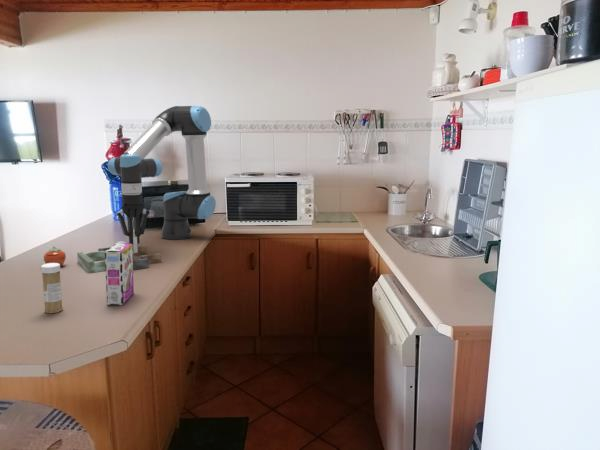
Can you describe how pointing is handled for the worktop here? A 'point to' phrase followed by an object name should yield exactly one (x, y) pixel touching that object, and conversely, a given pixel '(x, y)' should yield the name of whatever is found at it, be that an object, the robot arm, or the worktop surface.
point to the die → (121, 242)
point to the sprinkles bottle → (52, 287)
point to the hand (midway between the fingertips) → (134, 252)
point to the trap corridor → (90, 266)
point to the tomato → (55, 256)
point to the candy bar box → (119, 273)
